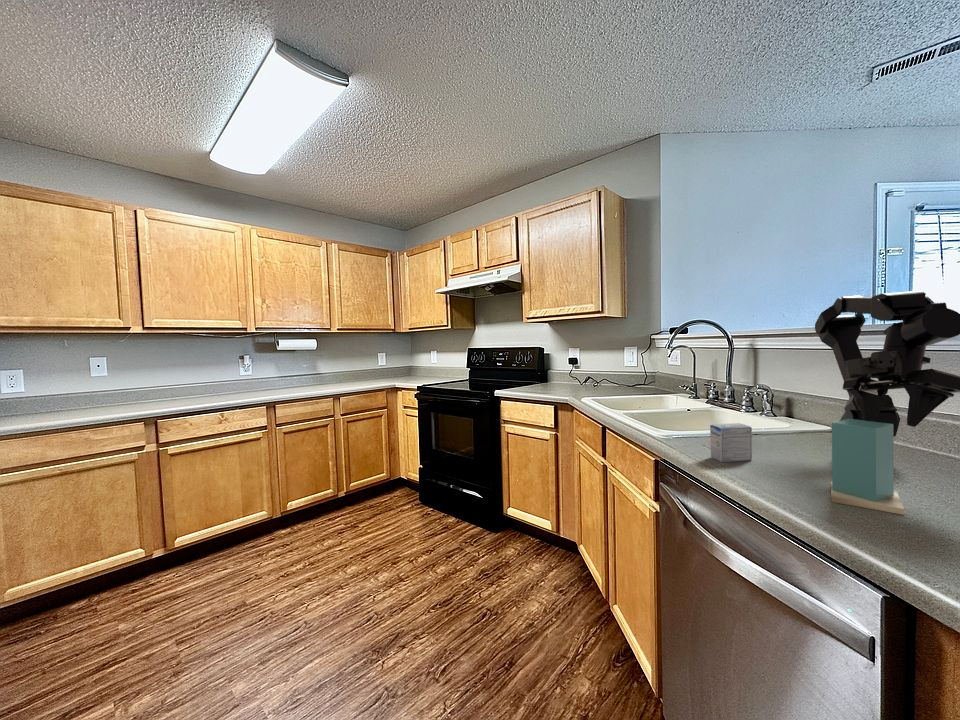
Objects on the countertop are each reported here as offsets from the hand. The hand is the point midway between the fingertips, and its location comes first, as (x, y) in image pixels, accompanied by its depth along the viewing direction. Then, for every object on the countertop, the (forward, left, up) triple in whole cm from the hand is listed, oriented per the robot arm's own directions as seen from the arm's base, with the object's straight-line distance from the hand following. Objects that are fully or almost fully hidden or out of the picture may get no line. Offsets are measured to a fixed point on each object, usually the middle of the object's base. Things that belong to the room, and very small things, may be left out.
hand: (887, 425), depth 75 cm
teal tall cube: (+11, -4, -11) cm, 16 cm away
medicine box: (-3, -27, -12) cm, 30 cm away
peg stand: (+11, -4, -12) cm, 17 cm away
